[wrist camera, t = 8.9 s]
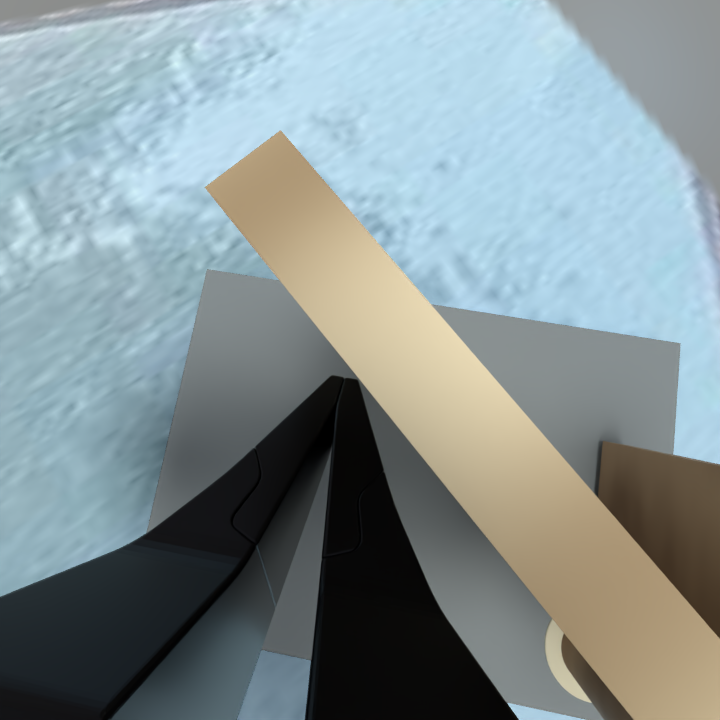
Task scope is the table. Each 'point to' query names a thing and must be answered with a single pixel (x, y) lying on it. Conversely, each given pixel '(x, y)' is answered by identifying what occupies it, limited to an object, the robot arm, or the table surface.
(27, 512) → the table surface
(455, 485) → the folding fence panel
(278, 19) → the table surface
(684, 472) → the fixed fence panel
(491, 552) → the board
